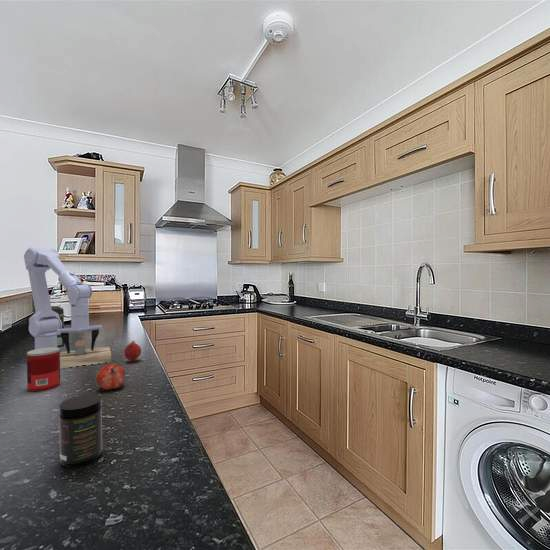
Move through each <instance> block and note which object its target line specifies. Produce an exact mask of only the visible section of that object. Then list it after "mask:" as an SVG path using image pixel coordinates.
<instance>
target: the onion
mask: <svg viewBox="0 0 550 550" xmlns="http://www.w3.org/2000/svg"><path fill="white" fill-rule="evenodd" d="M123 353H124V357H125V358H126V359H127V360H128V361H130V362H133V361H134V362H135V361H136V360H137V359H138V358H140V356H141V354H142V347H140V345H139V344H137V343H136V341H135V340H131V342H130V343H129V344H128V345H127V346H126V347H125V349H124V352H123Z"/></svg>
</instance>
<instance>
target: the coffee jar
mask: <svg viewBox="0 0 550 550" xmlns="http://www.w3.org/2000/svg"><path fill="white" fill-rule="evenodd" d="M51 309H52V310H53V311H54V312H56V313H58V315H59V318H60V320H61V322H62V328H61V329H63V328H65V319H64V318H65V315H64V313H65V312H64V308H62V307H61V306H57V305H52V306H51ZM44 319H49V318H44ZM63 346H65V344H64V342H63V340H62V338H61V335H57V348H59V347H63Z"/></svg>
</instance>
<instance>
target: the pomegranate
mask: <svg viewBox="0 0 550 550" xmlns="http://www.w3.org/2000/svg"><path fill="white" fill-rule="evenodd" d="M96 382H97V383H98V386H99V388H101V389H102V390H106V391H109V389H110V390H112V389H113V390H114V389H117V388H120V387H122V385H123V384H124V382H125V369H124V367H123V366H121V365H117V364H114V363H108V364H106V365H104V366H102V368H101V369H100V370H99V371H98V372H97V374H96Z"/></svg>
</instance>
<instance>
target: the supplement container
mask: <svg viewBox="0 0 550 550" xmlns="http://www.w3.org/2000/svg"><path fill="white" fill-rule="evenodd" d="M58 420H59V421H58V422H59V423H58V424H59V425H58V426H59V462H60V464H61V465H62V466H63V467H65V466H66V468H77V467H76V466H79V467H82V466H81V465H83V466H85V464H86V465H88V464H90V463H92V462H94V461H95V460H97V459H98V458H99V457H100V455H101V454H102V452H103V397H102V396H101V395H99V394H82V395H77V396H73V397H71V398H68V399H66V400H64V401H62V402H61V403H59V405H58ZM97 457H98V458H97ZM93 460H94V461H93ZM89 462H90V463H89ZM87 463H88V464H87Z"/></svg>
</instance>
